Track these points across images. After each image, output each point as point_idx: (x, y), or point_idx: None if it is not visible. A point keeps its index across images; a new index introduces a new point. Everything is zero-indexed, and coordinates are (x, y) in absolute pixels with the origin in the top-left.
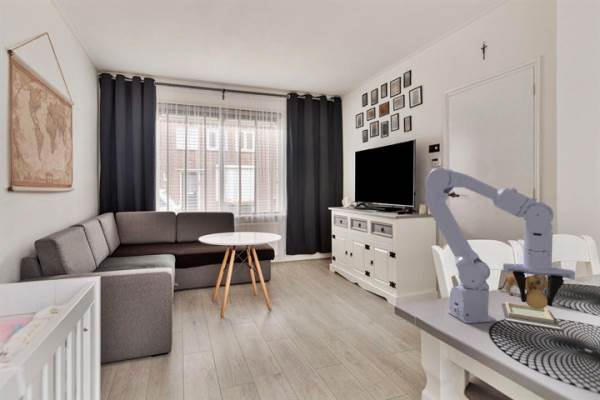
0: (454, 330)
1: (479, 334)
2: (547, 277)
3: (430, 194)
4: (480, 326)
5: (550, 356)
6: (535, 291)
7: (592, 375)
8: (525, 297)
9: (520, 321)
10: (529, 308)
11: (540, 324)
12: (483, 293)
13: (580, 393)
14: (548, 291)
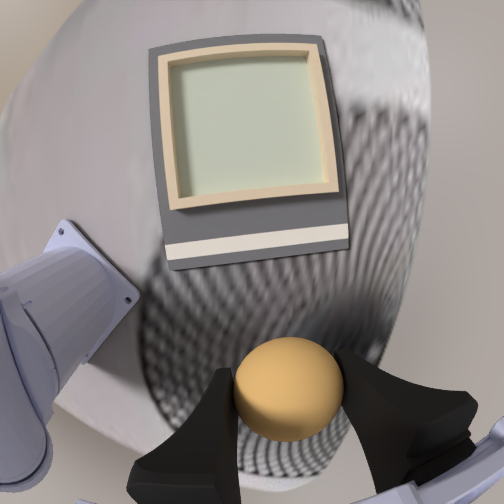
0: (89, 408)
1: (135, 408)
2: (412, 426)
3: None
4: (117, 360)
5: None
6: (290, 441)
7: (337, 445)
8: (237, 423)
9: (218, 248)
10: (253, 55)
11: (287, 235)
12: (63, 386)
13: (303, 484)
14: (364, 400)
